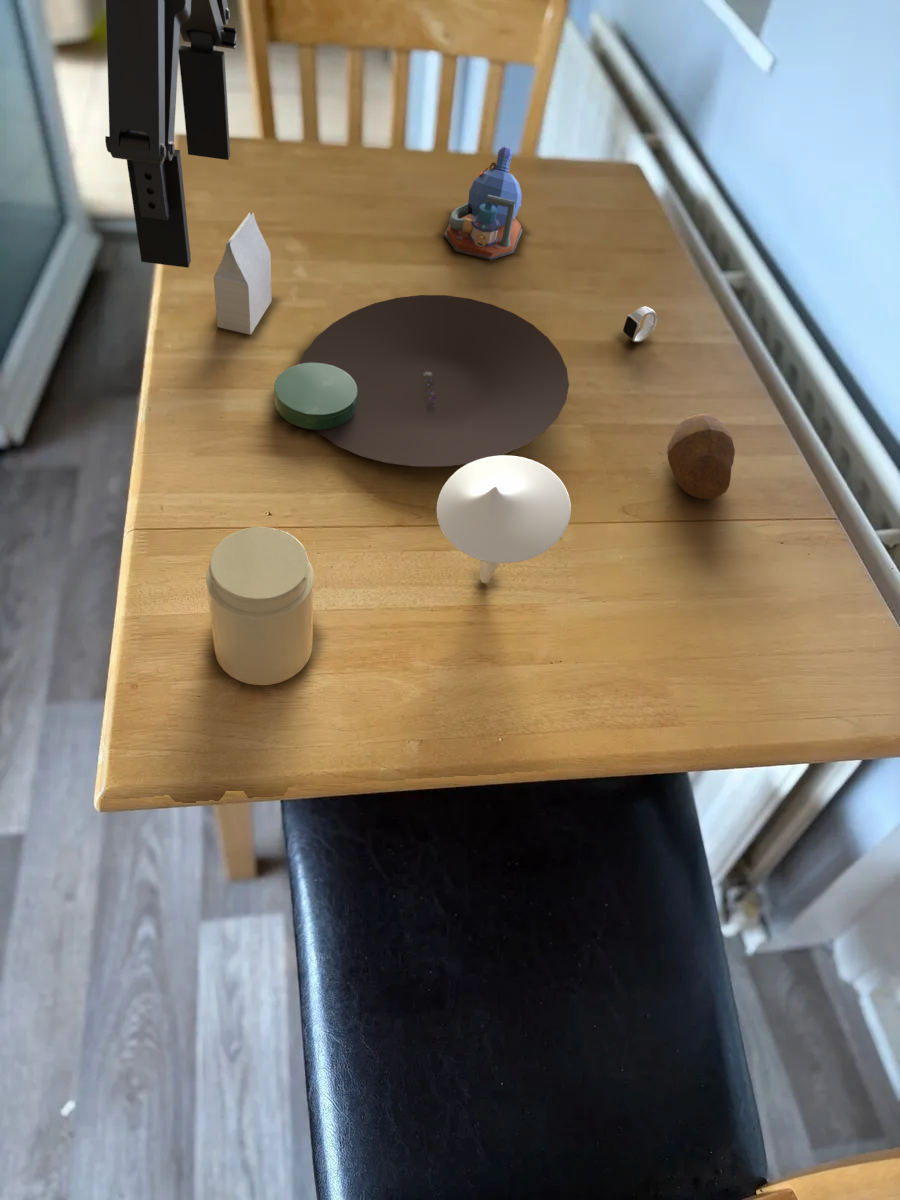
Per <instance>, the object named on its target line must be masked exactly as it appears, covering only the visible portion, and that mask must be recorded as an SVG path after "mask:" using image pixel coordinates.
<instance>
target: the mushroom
mask: <svg viewBox="0 0 900 1200" xmlns="http://www.w3.org/2000/svg"><path fill="white" fill-rule="evenodd" d="M571 513H572V503H571V498H570V495H569V492H568V490H567V488H566V485H565V484H564V483H563V481H562V480H561V478H560V477H559V476H558V475H557V474H556V473H555V472H554V471H552V470H551V469H550V468H549V467H547V466H545V465H544V464H542V463H540V462H538V461H535V460H533V459H529V458H527V457H523V456H516V455H502V456H491V457H486V458H482V459H479V460H476V461H473V462H471V463H469V464H464V465H463V466H461V467H460V468H459V469H457V470H456V471H455V472H454V473H453V474H452V475H451V476H449V478H448V479H447V481H446V482H445V483H444V485H443V486H442V488H441V490H440V492H439V495H438V497H437V502H436V517H437V522H438V526H439V528H440V530H441V532H442V534H443V535H444V537H445V538H446V540H447V541H448V542H449V543H450V544H451V545H452V546H453V547H455V549H457V550H458V551H460V552H461V553H463V554H464V555H467V556H468V557H471V558H473V559H476V560H479V579H480V581H481V582H482V584H487V583H489V581H490V580H491V578H492V576H493V575H494V573H495V572H496V570H497V568H498V567H499V566H500V564H514V563H521V562H525V561H529V560H531V559H534V558H536V557H538V556H540V555H543V554H544V553H546V552H547V551H549V550H550V549H551V548H553V547H554V546H555V545H556V544H557V543H558V542H559V541H560V540H561V538H562V537H563V536H564V534H565V533H566V531H567V529H568V526H569V524H570V521H571V515H572V514H571Z"/></svg>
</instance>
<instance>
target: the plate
mask: <svg viewBox="0 0 900 1200" xmlns="http://www.w3.org/2000/svg"><path fill="white" fill-rule="evenodd" d="M303 363H322V364H328V365H331V366H335V367H337V368H339V369H341V370H343V371H345V372H346V373H347V374H349V375H350V376H351V377H352V378H353V380H354V381H355V383H356V386H357V406H356V411H355V413H354V415H353V416H352V417H351V418H350V420H348V421H347V422H346V423H344V424H342V425H340V426H338V427H335V428H331V429H324V430H315V432H316V433H317V434H319V435H320V436H322V437H323V438H325V439H326V440H327V441H329V442H330V443H332V444H333V445H335V446H337V447H339V448H341V449H344V450H345V451H348V452H350V453H353V454H355V455H357V456H360V457H363V458H365V459H366V458H367V459H371V460H374V461H377V462H378V461H379V462H382V463H386V464H392V465H400V466H401V465H402V466H409V467H451V466H461V465H467V464H469V463H471V462H473V461H476V460H479V459H482V458H486V457H491V456H505V455H506V454H508V453H510V452H513V451H516V450H518V449H519V448H522V447H525V446H526V445H527V444H529V443H530V442H532V441H534V440H535V439H536V438H538V437H540V436H541V435H542V434H544V433H545V432H546V431H547V430H548V429H549V427H550V426H551V425H553V423H554V422H555V421H556V420H557V419H558V418H559V416H560V414H561V412H562V410H563V408H564V406H565V404H566V402H567V399H568V392H569V387H570V382H569V375H568V368H567V366H566V364H565V362H564V359H563V356H562V355H561V353H560V351H559V349H557V347H556V346H555V345H554V343H553V342H552V341H551V340H550V338H549V337H548V336H547V335H546V334H544V333H543V332H542V331H541V330H540V329H538V328H537V327H536V326H535V325H534V324H533V323H531V322H529V321H528V320H526V319H525V318H522V317H521V316H519V315H517V314H516V313H515V312H511V311H510V310H506V309H504V308H502V307H500V306H498V305H496V304H492V303H488V302H484V301H480V300H477V299H473V298H468V297H461V296H453V295H445V294H419V295H410V296H400V297H394V298H389V299H386V300H381V301H378V302H373V303H372V304H368V305H366V306H364V307H361V308H358V309H356V310H353V311H351V312H350V313H348V314H346V315H345V316H343V317H341V318H339V319H338V320H335V321H334V322H332V323H331V324H330V325H329V326H328V327H327V328H325V329H324V330H322V332H320V333H319V334H318V335H316V337H315V338H314V339H313V341H312V342H311V343H310V344H309V346H308V347H307V348H306V349H305V351H304V352H303V354H302V356H301V358H300V360H299V363H298V364H303Z"/></svg>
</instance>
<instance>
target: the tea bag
mask: <svg viewBox="0 0 900 1200" xmlns="http://www.w3.org/2000/svg"><path fill="white" fill-rule="evenodd" d="M271 262H272V259H271V251H270V248H269V247H268V245H267V242H266V240H265V238H264V236H263V233H262V232H261V229H260V228H259V224H258V222H257V220H256V216H255V213H254V212H252V213H251V212H249V213H248V214H247V215H246V216H245V217H244V219H243V220H242V221H241V223H240V224H239V226H238V227H237V228H236V230H235V231H234V233H233V234H232V235H231V237H230V238H229V239H228V240H227V242H226V243H225V249H224V252H223V256H222V259H221V261H220V263H219V265H218V267H217V269H216V271H215V274H214V275H213V285H214V287H213V288H214V299H215V301H214V302H215V312H216V324H217V325H216V327H217V328H220V329H224V330H229V331H232V332H237V333H241V334H245V335H250V336H252V335H253V334H252V333H253V332H254V330H255V329H256V327H257V326H258V324H259V322H260V321H261V319H262V318H263V316H264V314H265V313H266V311H267V310H268V308H269V306H270V305H271V304H272V301H273V300H272V265H271V264H272V263H271Z"/></svg>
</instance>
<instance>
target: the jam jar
mask: <svg viewBox="0 0 900 1200" xmlns="http://www.w3.org/2000/svg"><path fill="white" fill-rule="evenodd" d="M205 576H206V577H205V584H206V591H207V599H208V600H207V601H208V607H209V608H208V609H209V614H210V622H211V623H210V625H211V632H212V641H213V649H214V650H213V651H214V656H215V658H216V661H217V663H218V665H219V666H220V667H221V669H222V670H223V671H224V672H225V673H226V674H228V675H229V676H230V677H231V678H234V679H235V680H237V681H239V682H241V683H245V684H247V685H253V686H268V685H269V686H270V685H275V684H279V683H283V682H285V681H288V680H290V679H292V678H294V676H296V675H297V674H299V672H301V671H302V670H303V669H304V668H305V666H306V665H307V663H308V662H309V660H310V658H311V655H312V652H313V633H314V632H313V630H314V629H313V626H314V622H313V621H314V587H315V586H314V583H315V580H314V579H315V577H314V576H315V575H314V569H313V567H312V564H311V562H310V561H309V557H308V553H307V551H306V549H305V547H304V545H303V544H302V543H301V542H300V541H299V539H297V538H296V537H295V536H293V535H292V534H291V533H288V532H286V531H283V530H281V529H278V528H274V527H269V526H252V527H246V528H243V529H239V530H236V531H234V532H232V533H230V534H228V535H227V536H225V537H223V539H221V540H220V541H219V542H218V544H217V545H216V546H215V548H214V549H213V551H212V553H211V556H210V559H209V565H208V568H207V571H206V575H205Z"/></svg>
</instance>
